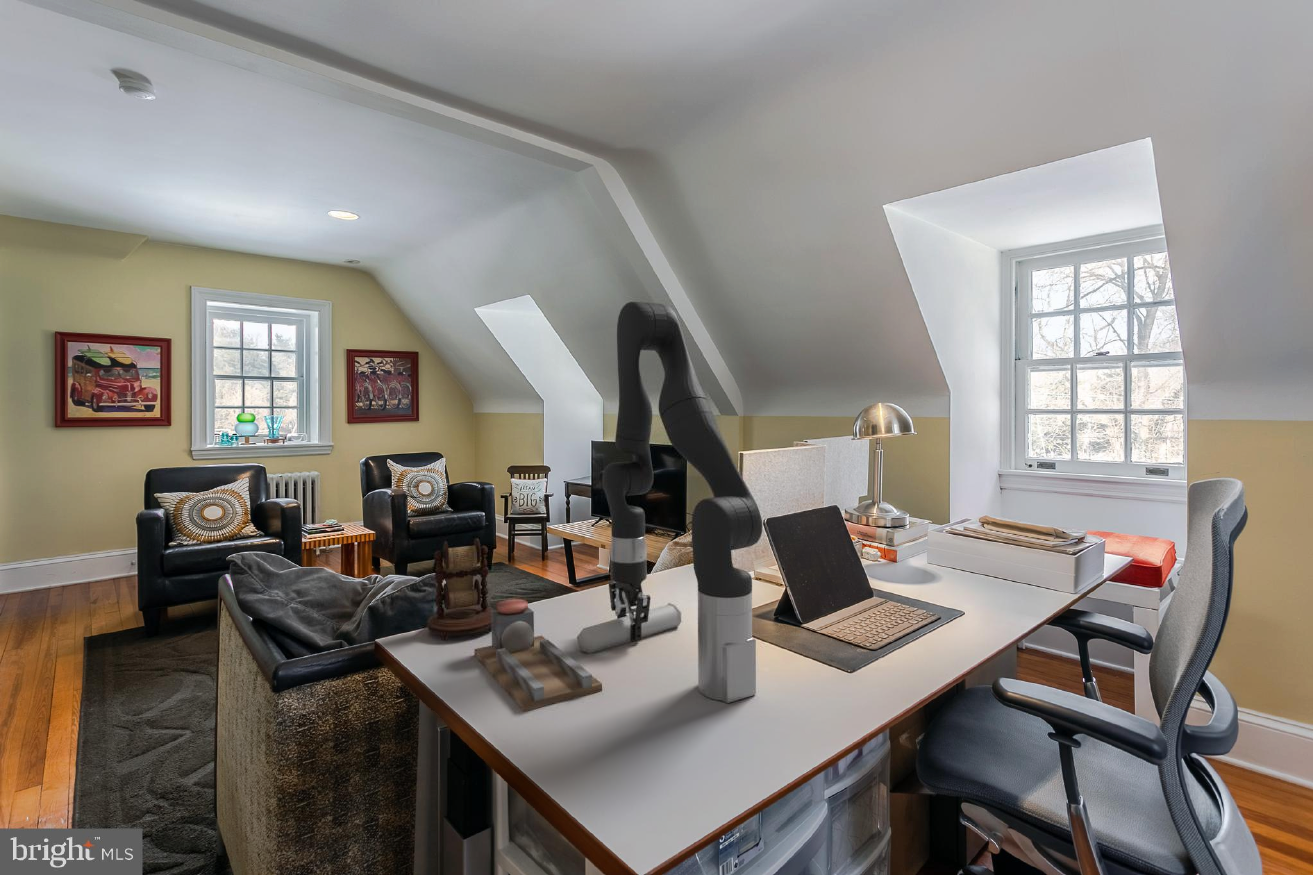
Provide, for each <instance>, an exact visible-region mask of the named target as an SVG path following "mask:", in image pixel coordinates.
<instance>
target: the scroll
mask: <svg viewBox="0 0 1313 875" xmlns="http://www.w3.org/2000/svg"><path fill="white" fill-rule="evenodd" d="M473 541H474V542H473V545H468V546H458V547H457V546H456V547H449V545H448V542H447V541H446V540H445V541H444V542H443V543H442V550H437V551H435V552H434V553H433V554H434V556H433V557H434V559H435V560H434V561H435V563H436V565H435V573H434V581H435V583H436V584H437V585H436V588H435V592H436V594H435V596H434V599H435V601H436V604H435V605H437V607H436V612H435V614H434V615H433V616H431V617H430V618H429V619H428V620H427V625H426V626H427V630H428V631H429V632H430V633H432V634H437V635H441V637H442V640H443V641H444V642H445V641H447V639H448V636H459V635H460V636H463V635H470V634H474V633H475V634H476V633H479V632H482V631H486V630H487V633H489V632H491V633H492V625H491V611H492V610H491V609H490V608H488V607H489V602H488V600H487V599H488V597H489V596H488V594H489V590H490V589H489V588H488V587H487V586H488V581H487V578H488V575H489V573H490V572H489V567H488V561H487V557H488V555H487V554H488V552H489V550H488V547H487V546H486V545H482V546H481V543H480V540H479V539H478V537H476V538H475V539H474V540H473ZM442 563H443V564H444V567H445V573H444V572H443V571H444V570H443V569H444V567H443V564H442ZM478 564H480V567H479V568H478V570H477V569H475V568H476V567H477V565H478ZM477 575H479V576H480V578H481V580H480V581H479V580H478V579H475V580H474V577H475V576H477ZM444 581H445V583H444ZM443 583H444V584H443Z"/></svg>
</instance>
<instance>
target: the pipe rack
mask: <svg viewBox="0 0 1313 875" xmlns="http://www.w3.org/2000/svg"><path fill="white" fill-rule="evenodd" d="M528 606H529V603H528V601H527V600H525V599H517V598H516V599H515V598H513V599H506V600H501V601H500V602H498V603H497V604H496V609H494V610H491V625H492V631H491V645H487V646H483V647H477V648H474V651H473V652H474V656H475V657H476V659H477V660H478V661H479V660H480V661H481V662H480V661H479V662H480V663H481V664H482V665H483V667H484V668H485V667H486V668H485V669H486V670H487V671H488V672H489V673H490V674H491V676H493V678H494V679H495V680H496V681H497V683H498V684H499V685H500V686H501V688H503V689H504V690H505V692H506V693H507V694H508V695H509V696H510V697H511V698H512V699H513V701H514V702H515V704H517V705H518V706H519V708H520V709H521V710H522V711H523V712H526V711H531V710H535V709H538V708H541V707H544V706H545V705H546V706H549V705H548V704H550V705H552V703H553V704H556V702H557V703H560V702H559V701H561V702H564V700H565V701H568V700H567V699H569V700H571V698H572V699H575V698H574V697H576V698H580V697H584V696H586V695H587V694H588V695H591V694H595V693H598V692H602V691H603V683H602V682H601V681H599V680H598V679H597V678H596V677H594V676H593V675H592V673H591V672H589V671H588V670H587V669H585V668H584V667H583V666H582V665H580V664H579V663H578V662H577V661H575V660H574V659H573V658H572V657H570V656H569V655H568V654H566V653H565V652H564V651H563V650H562V649H561V648H559V647H558V646H557V645H555V644H554V643H553V642H552V641H550V640H549V639H547V638H546V637H544V636H543V635H538V636H537V635H536V636H535V614H534V611H533V610H532V609H531V608H529V607H528ZM583 695H584V696H583ZM579 696H580V697H579Z"/></svg>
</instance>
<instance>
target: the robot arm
mask: <svg viewBox="0 0 1313 875" xmlns="http://www.w3.org/2000/svg"><path fill="white" fill-rule="evenodd" d="M616 326H617V327H616V348H617V349H616V350H617V351H616V352H617V378H618V411H617V412H618V413H617V419H616V420H617V422H616V427H615V428H616V431H615V438H614V439H615V441H614V442H615V443H614V444H615V447H616V448H617V450H619V451H620V452H623V453H625V454H631V455H632V461H618V462H617V461H616V462H610V463H608V464H607V465H606V467H605V468H604V470H603V471H602V472H603V473H602V479H601V480H602V487H603V490H604V493H605V497H606V500H607V503H608V508H609V509H608V510H609V513H610V516H611V517H610V519H611V528H610V529H611V531H610V532H611V539H610V554H609V555H610V579H611V581H612V582H609V583H608V591H609V599H610V608H611V611H612V612H613V611H614V615H615V616H616V617H617V618H616V619H618V618H622V617H625V616H630V622H631V624H630V629H631V641H630V642H632V643H638V642H640V641H641V640H642V638H641V637H642V634H641V625H642V623H645V622H648V616H649V610H650V606H651V598H652V597H651V595H650V594H646V595H645V594H644V592H643V587H642V583H643V581H645V580H646V579H647V577H648V576H647V575H648V574H647V573H648V572H647V568H648V567H647V541H646V514H645V511H644V509H643V508H642V507H639V506H635V505H628V503H627V501H626V496H627V497H628V496H639V495H644V494H647V493H648V492H649V491H650V489H652V486H653V484H654V469H653V464H652V457H651V456H652V455H651V448H650V447H651V446H650V443H651V442H650V440H651V433H652V423H653V408H652V403H651V400H650V396H649V395H648V393H647V390H646V388H645V385H644V382H643V379H642V377H641V372H640V355H641V352H642V351H653V352H656V354H657V355H658V357H659V360H660V362H661V365H662V368H663V372H664V379H663V383H662V387H661V391H660V394H659V399H658V414H659V416H660V417H659V418H660V419H661V422H662V425H663V427H664V430H665V432H666V435H667V438H668V441H669V442H670V443H671V445H672V446H673V448H674V449H675V450H676V451H677V452H678V454H679V455H680V456H682V457H683V458H684V460H686V461H687V462H688V463H689V464H690V465H691V466H692V467H693V468H694V469H696V470H697V472H699V474H700V475H701V476H702V477H703V479H704V480H705V481H706V482H707V484H708V486H709V488H710V489H711V492H712V494H713V496H714V497H708V498H707V497H706V498H704V499H701V500H699V501H698V502H697V504H696V505H695V506H694V509H693V512H692V517H691V543H692V544H691V546H692V559H693V561H692V562H693V571H694V575H695V577H696V581H697V672H698V673H697V674H698V676H697V677H698V678H697V679H698V684H697V685H698V687H697V688H698V691H699V693H700V694H702V695H703V696H705V697H706V698H710V699H713V700H717V701H723V702H725V703H727V704H729V703H733V702H736V701H739V700H741V699H745V698H749V697H751V696H755V695H756V694H757V640H756V639H755V638H754V637H753V578H752V576H751V574H750V573H749V571H746V570H744V569H741V568H737V567H734V565H733V557H732V556H733V555H732V551H736V550H739V549H740V550H741V549H745V548H749V547H752V546H754V545H755V544H757V543H758V542H759V540H760V539H761V537H762V532H763V519H762V516H761V511H760V509H759V507H758V504H757V502H756V500H755V498H754V497H753V495H752V492H751V490H750V489H749V487H748V485H747V484H746V482H745V480H744V478H743V476H742V474H741V473H740V471H739V469H738V467H737V465H736V463H735V461H734V460H733V457H732V454H731V453H730V451H729V448H728V446H727V444H726V442H725V440H724V438H723V435H722V433H721V430H720V428H719V426H718V423H717V419H716V418H715V415H714V413H713V410H712V408H711V406H710V404H709V401H708V398H707V397H706V394H705V392H704V391H703V388H702V386H701V383H700V381H699V377H698V375H697V373H696V370H695V367H694V364H693V362H692V360H691V357H690V353H689V351H688V347H687V344H686V341H685V336H684V333H683V330H682V327H681V324H680V322H679V319H678V317H677V314H676V313H675V310H673V309H672V307H671V306H669V305H666V304H665V303H655V302H645V301H629V302H627V303H625V304H624V305H623V306H622V307H621V309H620V311H619V314H618V319H617V324H616ZM632 607H635V608H632ZM642 613H644V614H643V615H642ZM627 614H628V615H627ZM634 614H635V618H634Z"/></svg>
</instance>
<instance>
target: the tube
mask: <svg viewBox="0 0 1313 875" xmlns="http://www.w3.org/2000/svg"><path fill="white" fill-rule="evenodd" d="M635 614H636V613H634V618H635ZM643 614H644V613H642V615H643ZM681 623H682V611H681V610H680V608H679V607H678V606H677V604H674V603H673V602H672V603H671V602H668V603H667V604H666V605H661V606H658V607H655V608H651V609H650V608H649V616H648V622H645V623H642V625H641V634H642V637H641V639H644V638H646V637H649V636H652V635H656V634H659V633H661V632H664V631H668V630H671V629H674V628H675V629H679V626H680V625H681ZM630 624H631V622H630V616H629V615H628V616H625V617H622V618H618V619H617V618H615V619H613V620H608V621H605V622H601V623H598V624H594V625H591V626H587V627H584V628H582V629H581V631H580V633H579V634H577V636H576V641H577V646H578V649H579V651H581V652H583V653H586V654H589V655H591V654H594V653H598V652H601V651H604V650H607V649H611V648H614V647H616V646H620V645H623V644H627V643H630V642H632V641H631V629H630Z"/></svg>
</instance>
